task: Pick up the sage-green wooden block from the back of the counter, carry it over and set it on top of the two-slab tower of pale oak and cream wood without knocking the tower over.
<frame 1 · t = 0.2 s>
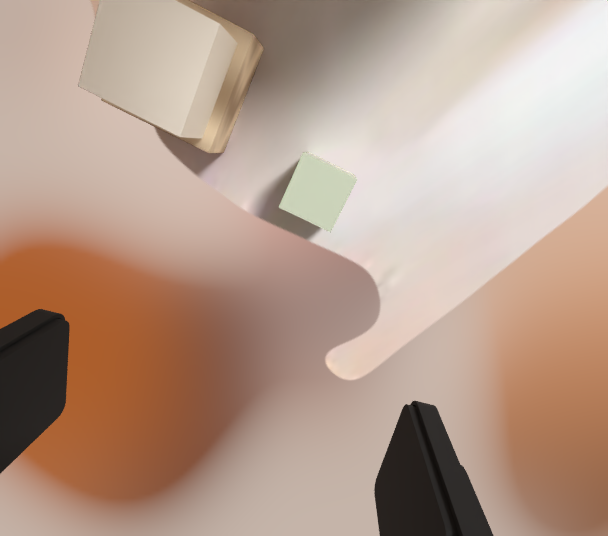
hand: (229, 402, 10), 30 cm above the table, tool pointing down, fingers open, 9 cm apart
tower base: (195, 78, 36), on the table, touching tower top
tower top: (174, 69, 31), point 5 cm above the table, touching tower base
sage block: (319, 186, 38), on the table
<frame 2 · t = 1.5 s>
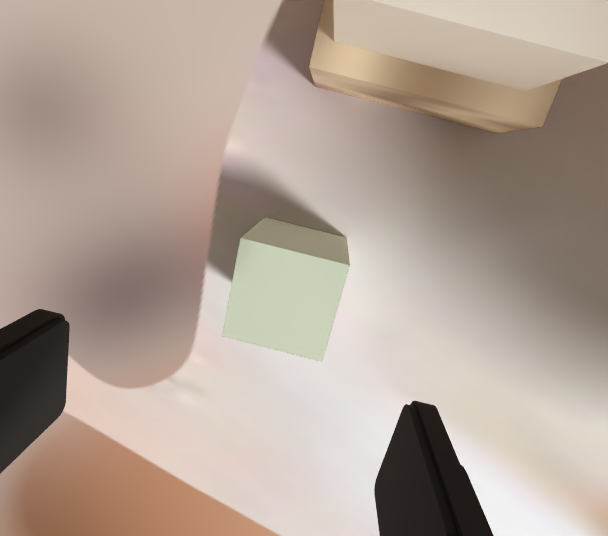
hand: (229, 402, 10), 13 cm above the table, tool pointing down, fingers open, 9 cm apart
tower base: (436, 6, 19), on the table, touching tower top
sage block: (296, 266, 23), on the table
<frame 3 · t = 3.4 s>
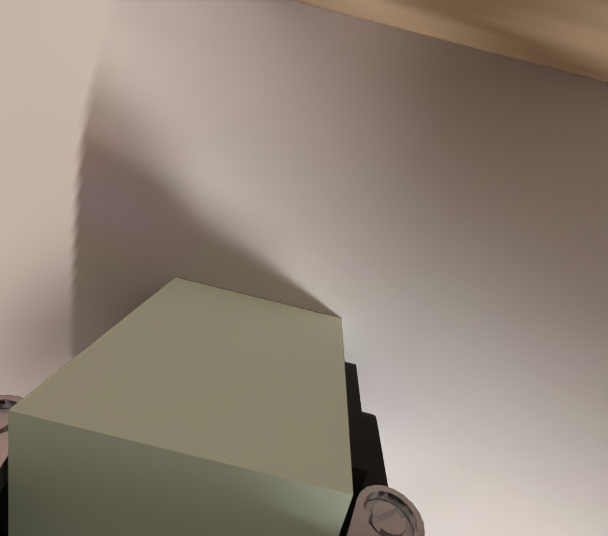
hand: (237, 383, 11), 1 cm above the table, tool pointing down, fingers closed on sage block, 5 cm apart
sage block: (242, 370, 12), on the table, touching gripper
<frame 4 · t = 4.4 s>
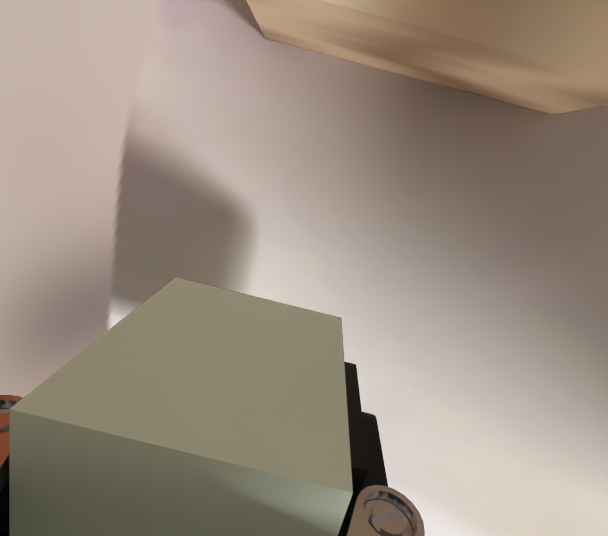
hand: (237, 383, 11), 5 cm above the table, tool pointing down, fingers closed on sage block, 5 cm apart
sage block: (243, 369, 12), point 4 cm above the table, touching gripper
when the fingers open (12 cm above the table, at t = 7.9 s): sage block drops 1 cm, point 10 cm above the table.
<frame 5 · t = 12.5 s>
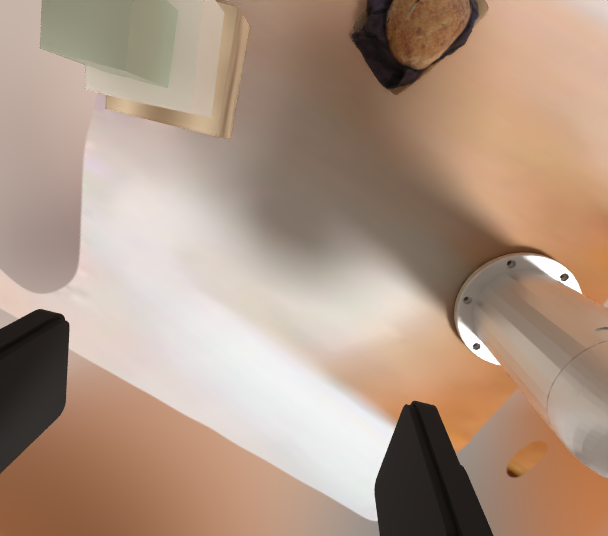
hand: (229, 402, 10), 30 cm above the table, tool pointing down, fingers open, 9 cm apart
tower base: (189, 72, 36), on the table, touching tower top
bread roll: (415, 24, 34), on the table
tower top: (170, 57, 31), point 5 cm above the table, touching tower base
sage block: (138, 41, 27), point 10 cm above the table
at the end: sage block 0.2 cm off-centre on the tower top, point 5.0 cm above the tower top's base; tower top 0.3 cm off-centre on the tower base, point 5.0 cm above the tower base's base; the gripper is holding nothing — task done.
